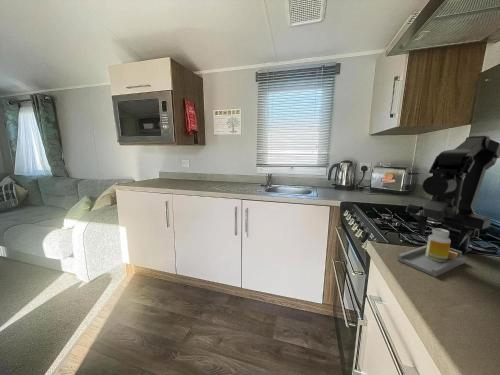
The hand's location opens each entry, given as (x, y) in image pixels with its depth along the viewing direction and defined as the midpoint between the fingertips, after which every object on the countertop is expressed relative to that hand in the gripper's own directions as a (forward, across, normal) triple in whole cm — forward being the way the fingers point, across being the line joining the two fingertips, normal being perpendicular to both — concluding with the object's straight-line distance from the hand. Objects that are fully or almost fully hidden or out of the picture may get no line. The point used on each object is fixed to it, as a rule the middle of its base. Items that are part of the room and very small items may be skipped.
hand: (439, 240), depth 66 cm
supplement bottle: (+6, 0, 0) cm, 6 cm away
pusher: (+7, 0, +3) cm, 7 cm away
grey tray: (+7, 0, -3) cm, 8 cm away
